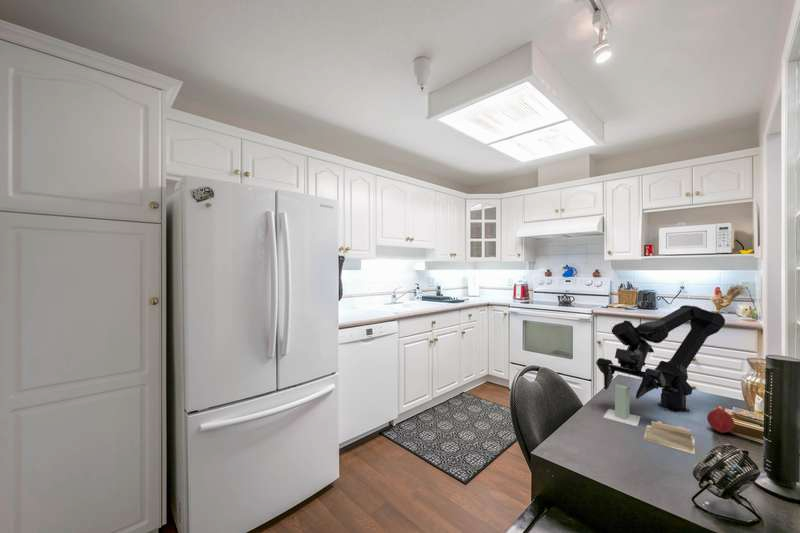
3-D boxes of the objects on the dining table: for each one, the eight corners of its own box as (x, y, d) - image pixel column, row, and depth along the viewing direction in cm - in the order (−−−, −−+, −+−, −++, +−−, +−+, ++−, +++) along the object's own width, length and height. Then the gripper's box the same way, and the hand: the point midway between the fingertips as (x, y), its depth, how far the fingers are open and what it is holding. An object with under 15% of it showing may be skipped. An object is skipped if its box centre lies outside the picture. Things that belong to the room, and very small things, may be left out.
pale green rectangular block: (619, 414, 111) (619, 383, 111) (629, 417, 108) (629, 386, 108) (614, 416, 109) (615, 385, 109) (625, 419, 107) (625, 388, 107)
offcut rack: (647, 426, 104) (647, 410, 104) (694, 438, 96) (694, 422, 96) (643, 441, 94) (643, 424, 95) (694, 456, 87) (695, 437, 87)
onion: (739, 439, 96) (739, 411, 96) (716, 437, 98) (716, 409, 98) (724, 429, 102) (724, 403, 102) (702, 427, 103) (702, 401, 103)
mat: (608, 410, 115) (608, 408, 115) (640, 418, 109) (640, 416, 109) (603, 419, 108) (603, 417, 108) (637, 428, 102) (637, 426, 102)
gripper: (599, 334, 119) (582, 370, 113) (662, 345, 103) (647, 387, 97) (609, 354, 123) (593, 389, 117) (671, 367, 108) (657, 408, 101)
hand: (620, 393), depth 108 cm, fingers open, 9 cm apart
